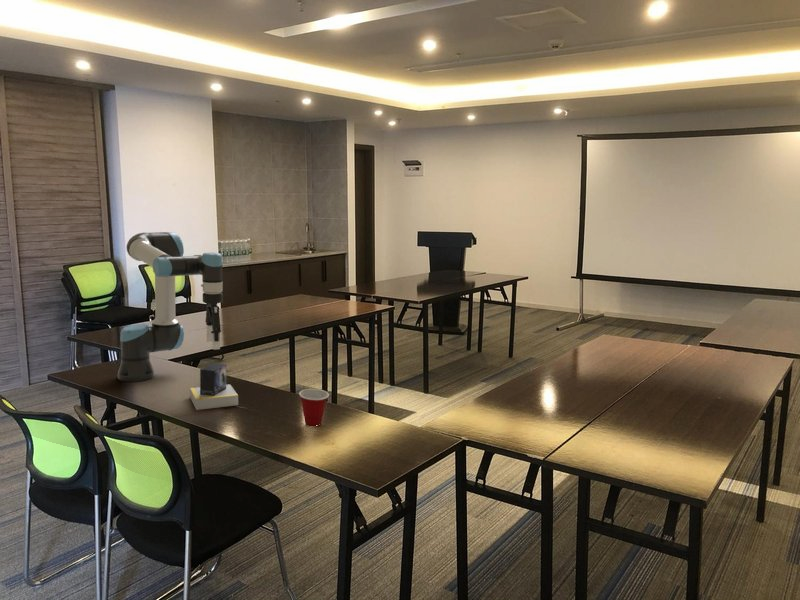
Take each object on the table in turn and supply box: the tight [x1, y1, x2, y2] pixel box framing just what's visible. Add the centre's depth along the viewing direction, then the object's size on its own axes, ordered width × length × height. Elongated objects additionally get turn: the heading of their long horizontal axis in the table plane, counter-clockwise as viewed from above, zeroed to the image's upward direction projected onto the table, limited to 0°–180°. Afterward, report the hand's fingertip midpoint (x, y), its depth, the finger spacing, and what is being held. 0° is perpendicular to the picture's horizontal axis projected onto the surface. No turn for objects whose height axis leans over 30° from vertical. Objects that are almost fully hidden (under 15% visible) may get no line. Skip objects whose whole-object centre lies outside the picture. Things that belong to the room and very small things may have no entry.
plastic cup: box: [298, 388, 330, 427], centre depth 230 cm, size 11×11×12 cm
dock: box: [189, 384, 239, 411], centre depth 253 cm, size 16×16×4 cm
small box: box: [199, 362, 227, 396], centre depth 251 cm, size 11×6×10 cm, turn 168°
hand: (213, 345), depth 250 cm, fingers open, 13 cm apart
